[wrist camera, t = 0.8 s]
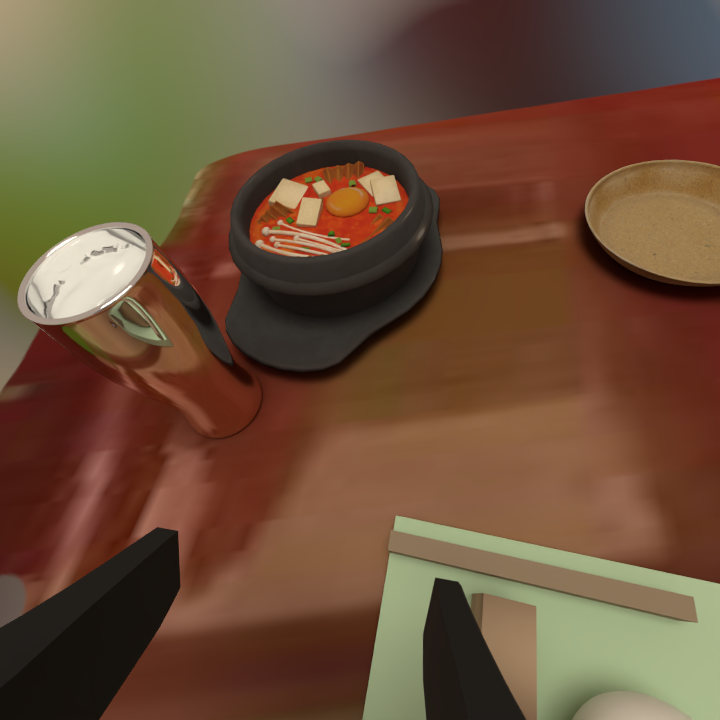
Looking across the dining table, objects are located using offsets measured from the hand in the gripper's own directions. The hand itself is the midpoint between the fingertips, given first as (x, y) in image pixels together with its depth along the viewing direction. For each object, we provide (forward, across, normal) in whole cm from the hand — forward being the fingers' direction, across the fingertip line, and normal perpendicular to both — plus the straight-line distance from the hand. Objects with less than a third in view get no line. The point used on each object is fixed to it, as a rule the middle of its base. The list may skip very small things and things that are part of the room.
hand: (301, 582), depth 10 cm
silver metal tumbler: (+19, +11, +5) cm, 22 cm away
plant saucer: (+30, -24, -12) cm, 40 cm away
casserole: (+29, +4, -6) cm, 30 cm away
